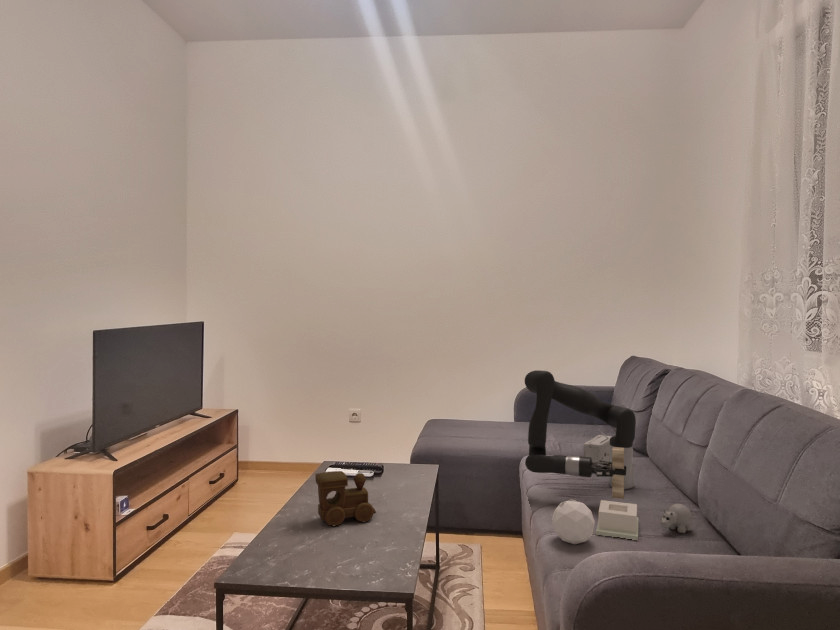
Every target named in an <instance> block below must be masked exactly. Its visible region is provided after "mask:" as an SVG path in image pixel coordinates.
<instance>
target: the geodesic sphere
mask: <svg viewBox="0 0 840 630" xmlns="http://www.w3.org/2000/svg"><path fill="white" fill-rule="evenodd" d="M553 511H554V512H553V514H552V519H551V522H552V523H551V524H552V525H553V529H554V531H555V534H557V536H558V537H559V538H560V539H561V541H563V542H566V543H568V544H572V545H577V544H581V543H585V542H587V541H588V540H589V539H590V537H591V536H592V535H593V534H594V528H595V524H596V522H595V518H594V515H593V512H592V510H591V509H590V508H589V507H588V506H587V505H586V504H585V503H583V502H581V501H578V500H575V499H571V498H569V500H565V501H562V502H560V503H559V504H558V506H557V507H556V508H555V509H554V510H553Z"/></svg>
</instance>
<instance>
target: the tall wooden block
mask: <svg viewBox="0 0 840 630" xmlns="http://www.w3.org/2000/svg"><path fill="white" fill-rule="evenodd" d="M612 468H618V469H624V448H618V447H613V449H612ZM611 488H612V489H611V490H612V491H611V494H612V495H611V496H612V497H611V498H612V499H613V498H615V499H622V500H624V499H625V489H624V475H613V477H612V487H611Z"/></svg>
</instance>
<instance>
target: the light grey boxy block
mask: <svg viewBox="0 0 840 630" xmlns="http://www.w3.org/2000/svg"><path fill="white" fill-rule="evenodd" d="M597 431H599V432H600V433H601V434H598V435H596V436H594V437H593V438H591V439H590V440H588V441H586V442H584V443H583V453H582V457H591V458H592V462H593V463H594V462H599V460H602V461H607V462H609V454H610V438H611V437H613V436H612V435H606V434H604V432H602V430H600V429H599V428H598V429H597Z"/></svg>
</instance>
